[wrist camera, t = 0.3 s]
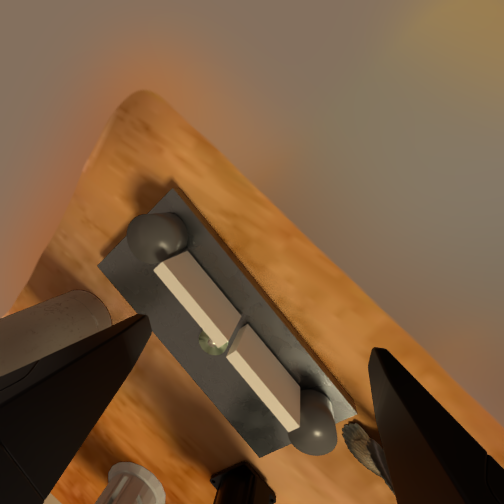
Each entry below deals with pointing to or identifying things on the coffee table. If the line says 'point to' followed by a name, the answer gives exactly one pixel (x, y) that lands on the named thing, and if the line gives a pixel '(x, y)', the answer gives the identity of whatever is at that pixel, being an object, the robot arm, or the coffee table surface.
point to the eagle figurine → (367, 451)
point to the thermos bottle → (49, 328)
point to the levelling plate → (213, 358)
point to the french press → (131, 486)
